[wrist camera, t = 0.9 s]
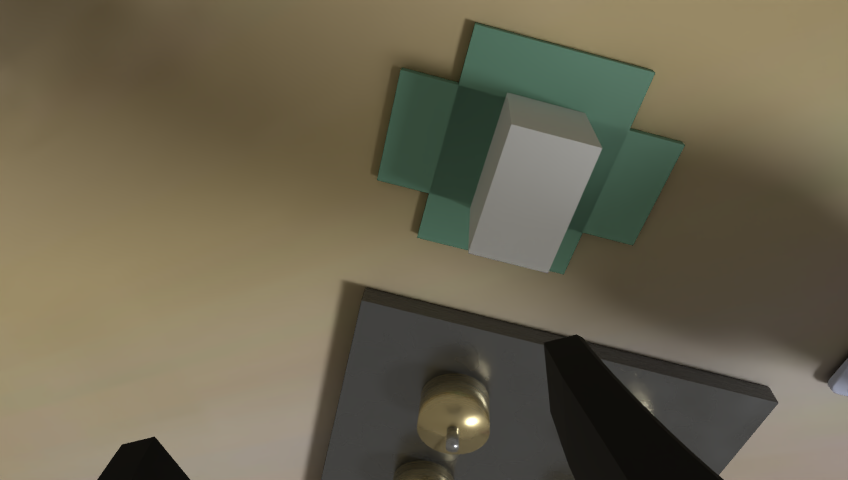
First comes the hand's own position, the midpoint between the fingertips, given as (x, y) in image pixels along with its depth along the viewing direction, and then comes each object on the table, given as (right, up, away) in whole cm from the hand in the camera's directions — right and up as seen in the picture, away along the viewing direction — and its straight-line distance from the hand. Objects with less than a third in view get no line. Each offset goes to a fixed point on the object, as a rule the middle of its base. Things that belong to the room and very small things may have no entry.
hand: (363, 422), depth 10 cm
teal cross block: (+5, +7, +12) cm, 15 cm away
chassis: (+6, -8, +20) cm, 23 cm away
